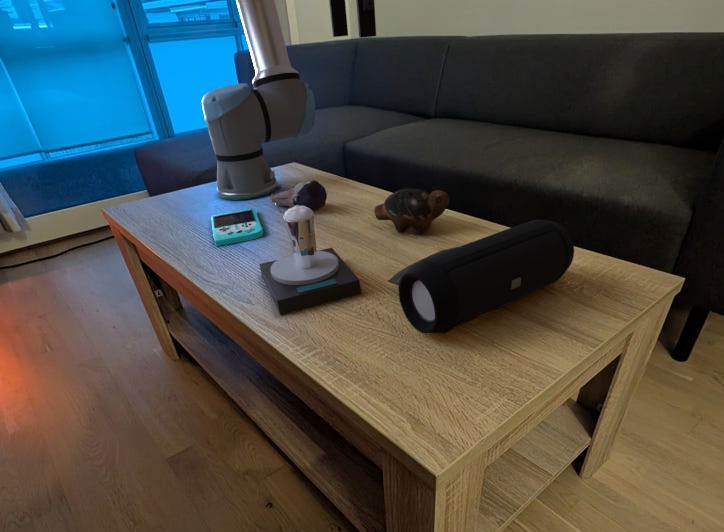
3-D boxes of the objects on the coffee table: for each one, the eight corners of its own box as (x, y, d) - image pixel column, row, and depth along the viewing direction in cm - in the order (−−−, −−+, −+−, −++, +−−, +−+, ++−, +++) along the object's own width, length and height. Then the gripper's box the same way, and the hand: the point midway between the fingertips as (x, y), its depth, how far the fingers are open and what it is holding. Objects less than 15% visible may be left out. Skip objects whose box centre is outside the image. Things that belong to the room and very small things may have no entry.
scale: (262, 277, 77) (257, 259, 75) (333, 260, 80) (331, 243, 78) (280, 315, 67) (275, 295, 65) (361, 294, 70) (359, 275, 68)
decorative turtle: (447, 239, 85) (445, 197, 80) (371, 241, 89) (364, 201, 84) (453, 218, 92) (452, 178, 87) (382, 220, 96) (377, 182, 91)
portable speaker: (440, 353, 57) (442, 283, 51) (395, 320, 63) (392, 255, 57) (571, 290, 67) (586, 225, 61) (521, 267, 74) (530, 207, 68)
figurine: (289, 192, 110) (337, 183, 102) (289, 219, 111) (336, 212, 103) (259, 182, 102) (308, 172, 94) (259, 211, 103) (308, 204, 95)
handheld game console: (214, 246, 89) (212, 240, 88) (211, 220, 101) (209, 214, 100) (264, 237, 91) (263, 231, 90) (255, 213, 103) (254, 207, 102)
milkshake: (289, 260, 74) (276, 199, 68) (321, 256, 74) (311, 195, 68) (287, 272, 70) (274, 209, 64) (321, 268, 71) (311, 205, 64)
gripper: (398, -174, 56) (403, 35, 69) (335, -123, 75) (349, 34, 88) (341, -177, 54) (358, 39, 67) (291, -124, 72) (312, 37, 86)
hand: (353, 36), depth 77 cm, fingers open, 13 cm apart
